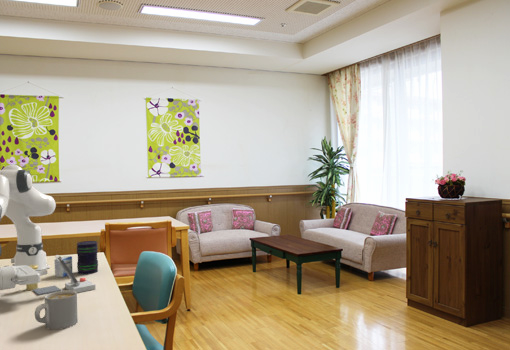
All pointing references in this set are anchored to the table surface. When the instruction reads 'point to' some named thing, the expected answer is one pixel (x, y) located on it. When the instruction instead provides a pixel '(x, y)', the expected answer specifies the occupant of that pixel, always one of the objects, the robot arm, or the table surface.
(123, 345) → the table surface
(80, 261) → the storage jar
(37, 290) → the pad
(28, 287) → the yellow lidded cup
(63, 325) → the coffee mug
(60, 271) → the medicine box
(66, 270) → the toggle
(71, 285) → the panel
